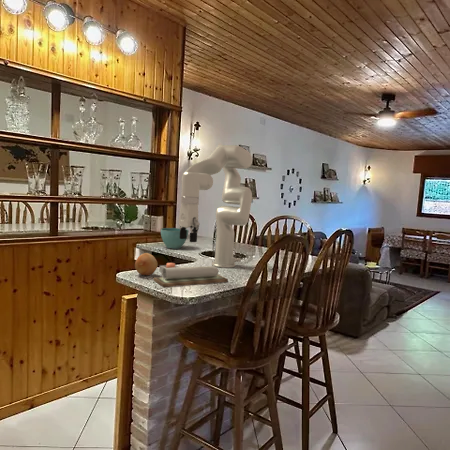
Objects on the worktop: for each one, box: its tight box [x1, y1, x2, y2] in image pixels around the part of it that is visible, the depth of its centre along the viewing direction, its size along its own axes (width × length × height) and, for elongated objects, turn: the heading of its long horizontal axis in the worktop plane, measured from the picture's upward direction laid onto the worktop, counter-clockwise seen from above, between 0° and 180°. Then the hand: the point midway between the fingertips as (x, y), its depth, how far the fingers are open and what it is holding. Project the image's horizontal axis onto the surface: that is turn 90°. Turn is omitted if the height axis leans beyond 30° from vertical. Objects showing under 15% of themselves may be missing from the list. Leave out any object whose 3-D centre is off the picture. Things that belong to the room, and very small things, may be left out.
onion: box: [134, 252, 158, 276], centre depth 168 cm, size 10×10×10 cm
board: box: [153, 274, 229, 288], centre depth 163 cm, size 30×11×1 cm, turn 121°
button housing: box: [159, 264, 179, 273], centre depth 178 cm, size 8×8×2 cm
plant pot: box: [160, 227, 190, 250], centre depth 248 cm, size 18×18×12 cm
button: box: [166, 262, 176, 268], centre depth 178 cm, size 4×4×3 cm
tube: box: [161, 265, 219, 280], centre depth 163 cm, size 5×5×25 cm
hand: (187, 240), depth 165 cm, fingers open, 9 cm apart
